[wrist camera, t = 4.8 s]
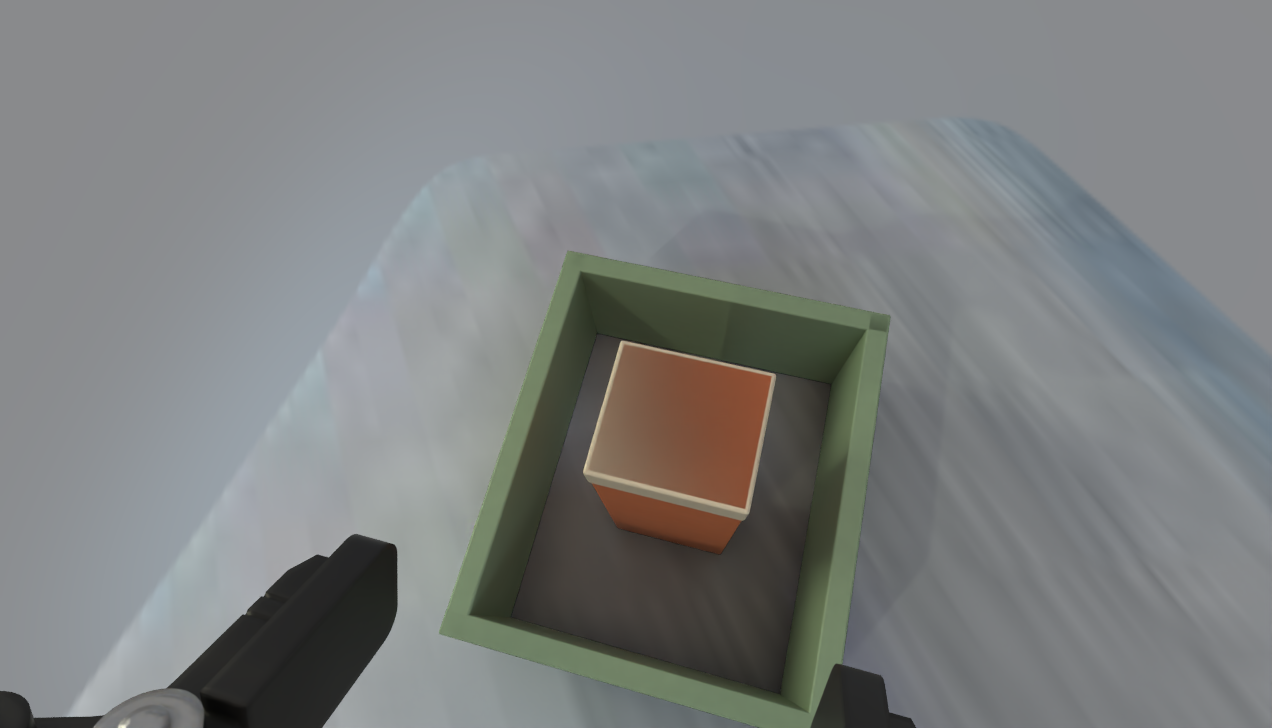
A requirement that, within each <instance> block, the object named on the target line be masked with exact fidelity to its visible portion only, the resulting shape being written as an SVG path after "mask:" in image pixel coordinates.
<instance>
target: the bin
mask: <svg viewBox="0 0 1272 728" xmlns="http://www.w3.org/2000/svg"><path fill="white" fill-rule="evenodd" d="M889 325H890V315H885V314H880V313H875V312H870V311H865V310H860V309H855V308H850V307H845V306H841V305H836V304H831V303H826V302H821V301H816V300H811V299H806V298H801V297H796V296H791V295H786V294H781V293H776V292H771V291H766V290H761V289H756V288H751V287H746V286H741V285H736V284H731V283H726V282H721V281H716V280H711V279H706V278H701V277H696V276H691V275H686V274H681V273H677V272H672V271H667V270H662V269H657V268H652V267H647V266H642V265H637V264H632V263H627V262H622V261H617V260H612V259H607V258H602V257H597V256H592V255H587V254H582V253H577V252H572V251H567V254H566V257H565V260H564V263H563V266H562V270H561V272H560V275H559V278H558V281H557V284H556V287H555V290H554V293H553V296H552V299H551V302H550V305H549V308H548V311H547V314H546V317H545V320H544V323H543V326H542V329H541V332H540V335H539V338H538V341H537V344H536V347H535V350H534V353H533V356H532V359H531V361H530V364H529V367H528V370H527V373H526V376H525V379H524V382H523V385H522V388H521V391H520V394H519V397H518V400H517V403H516V406H515V409H514V412H513V415H512V418H511V421H510V424H509V427H508V430H507V433H506V436H505V439H504V442H503V445H502V447H501V450H500V453H499V456H498V459H497V462H496V465H495V468H494V471H493V474H492V477H491V480H490V483H489V486H488V489H487V492H486V495H485V498H484V501H483V504H482V507H481V510H480V513H479V516H478V519H477V522H476V525H475V528H474V531H473V534H472V536H471V539H470V542H469V545H468V548H467V551H466V554H465V557H464V560H463V563H462V566H461V569H460V572H459V575H458V578H457V581H456V584H455V587H454V590H453V593H452V596H451V599H450V602H449V605H448V608H447V610H446V613H445V615H444V618H443V621H442V624H441V627H440V630H439V634H441V635H445V636H448V637H452V638H455V639H458V640H462V641H465V642H469V643H472V644H475V645H479V646H482V647H486V648H489V649H492V650H496V651H499V652H503V653H506V654H509V655H513V656H516V657H520V658H523V659H527V660H530V661H533V662H537V663H540V664H544V665H547V666H550V667H554V668H557V669H561V670H564V671H567V672H571V673H574V674H578V675H581V676H584V677H588V678H591V679H595V680H598V681H601V682H605V683H608V684H612V685H615V686H619V687H622V688H625V689H629V690H632V691H636V692H639V693H642V694H646V695H649V696H653V697H656V698H659V699H663V700H666V701H670V702H673V703H676V704H680V705H683V706H687V707H690V708H693V709H697V710H700V711H704V712H707V713H710V714H714V715H717V716H721V717H724V718H728V719H731V720H734V721H738V722H741V723H745V724H748V725H751V726H755V727H758V728H811V724H812V721H813V719H814V716H815V713H816V711H817V708H818V705H819V702H820V700H821V697H822V694H823V692H824V689H825V686H826V684H827V681H828V678H829V676H830V673H831V670H832V668H833V666H834V665H835V664H836V663H837V664H841V665H842V663H843V656H844V649H845V642H846V634H847V627H848V620H849V613H850V605H851V598H852V591H853V584H854V576H855V569H856V562H857V555H858V548H859V540H860V533H861V526H862V519H863V511H864V504H865V497H866V490H867V483H868V475H869V468H870V461H871V454H872V446H873V439H874V432H875V425H876V418H877V410H878V403H879V396H880V389H881V381H882V374H883V367H884V360H885V353H886V345H887V338H888V332H889ZM597 333H599V334H604V335H608V336H613V337H618V338H622V339H627V340H631V341H636V342H640V343H645V344H650V345H654V346H659V347H663V348H668V349H673V350H677V351H682V352H686V353H691V354H696V355H700V356H705V357H709V358H714V359H718V360H723V361H728V362H732V363H737V364H741V365H746V366H751V367H755V368H760V369H764V370H769V371H774V372H778V373H783V374H787V375H792V376H796V377H801V378H806V379H810V380H815V381H819V382H824V383H829V384H831V390H830V396H829V402H828V408H827V414H826V420H825V426H824V432H823V438H822V445H821V451H820V457H819V463H818V469H817V475H816V481H815V487H814V493H813V499H812V505H811V511H810V517H809V523H808V529H807V535H806V541H805V547H804V553H803V559H802V565H801V571H800V577H799V583H798V589H797V595H796V601H795V607H794V613H793V619H792V625H791V631H790V637H789V643H788V649H787V655H786V661H785V667H784V673H783V680H782V686H781V692H780V694H778V693H774V692H771V691H767V690H764V689H760V688H757V687H753V686H750V685H746V684H743V683H739V682H736V681H732V680H729V679H725V678H722V677H718V676H715V675H711V674H708V673H704V672H701V671H697V670H694V669H690V668H687V667H683V666H680V665H676V664H673V663H669V662H666V661H662V660H659V659H655V658H652V657H648V656H645V655H641V654H638V653H634V652H631V651H627V650H624V649H620V648H617V647H613V646H610V645H606V644H603V643H599V642H596V641H592V640H589V639H585V638H582V637H578V636H574V635H571V634H567V633H564V632H560V631H557V630H553V629H550V628H546V627H543V626H539V625H536V624H532V623H529V622H525V621H522V620H518V619H515V618H511V614H512V611H513V608H514V604H515V601H516V598H517V594H518V591H519V588H520V585H521V581H522V578H523V575H524V572H525V568H526V565H527V562H528V558H529V555H530V552H531V549H532V545H533V542H534V539H535V535H536V532H537V529H538V526H539V522H540V519H541V516H542V512H543V509H544V506H545V503H546V499H547V496H548V493H549V489H550V486H551V483H552V480H553V476H554V473H555V470H556V466H557V463H558V460H559V457H560V453H561V450H562V447H563V443H564V440H565V437H566V434H567V430H568V427H569V424H570V420H571V417H572V414H573V411H574V407H575V404H576V401H577V397H578V394H579V391H580V388H581V384H582V381H583V378H584V374H585V371H586V368H587V365H588V361H589V358H590V355H591V352H592V348H593V345H594V342H595V338H596V335H597Z"/></svg>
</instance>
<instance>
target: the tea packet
mask: <svg viewBox="0 0 1272 728" xmlns="http://www.w3.org/2000/svg"><path fill="white" fill-rule="evenodd" d="M775 381H776V374H774V373H769V372H765V371H760V370H756V369H751V368H746V367H742V366H737V365H733V364H728V363H724V362H719V361H714V360H710V359H705V358H701V357H696V356H691V355H687V354H682V353H678V352H673V351H669V350H664V349H659V348H655V347H650V346H646V345H641V344H636V343H632V342H627V341H621V343H620V345H619V349H618V352H617V356H616V359H615V363H614V366H613V370H612V373H611V376H610V380H609V383H608V387H607V390H606V394H605V397H604V401H603V404H602V408H601V411H600V414H599V418H598V421H597V425H596V428H595V432H594V435H593V439H592V442H591V446H590V449H589V452H588V456H587V459H586V463H585V466H584V470H583V474H584V476H585V477H586V479H587V481H588V482H590V483H592V485H593V486H594V488H595V490H596V491H597V493H598V495H599V497H600V498H601V500H602V502H603V504H604V505H605V507H606V509H607V511H608V512H609V514H610V516H611V518H612V519H613V521H614V523H615V525H616V526H617V528H619V529H623V530H627V531H630V532H634V533H638V534H642V535H646V536H650V537H654V538H657V539H661V540H665V541H669V542H673V543H677V544H681V545H684V546H688V547H692V548H696V549H700V550H704V551H708V552H711V553H715V554H721V553H722V551H723V550H724V548H725V547H726V545H727V543H728V542H729V540H730V539H731V537H732V535H733V534H734V532H735V531H736V529H737V527H738V526H739V524H740V523H741V521H744V520H745V519H746V517H747V516H748V514H749V513H750V508H751V503H752V498H753V493H754V488H755V483H756V478H757V473H758V468H759V463H760V458H761V452H762V447H763V442H764V437H765V432H766V427H767V422H768V417H769V412H770V407H771V402H772V397H773V392H774V387H775Z"/></svg>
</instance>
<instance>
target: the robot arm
mask: <svg viewBox="0 0 1272 728" xmlns="http://www.w3.org/2000/svg"><path fill="white" fill-rule="evenodd" d="M396 612H397V549H396V546H395V545H394V544H391V543H387V542H384V541H380V540H376V539H373V538H369V537H365V536H362V535H358V534H354V535H352V536H350V537H349V538H348V539H346V540H345V541H344V543H343V544H342V545H341V546H340V547H339V548H338V549H337V550H336V551H335V552H334V553H333V554H332V555H331V556H330V557H329V558H328V557H324V556H321V555H315V556H314V557H312V558H310V559H308V560H306V561H304V562H302V563H301V564H299V565H297V566H295V567H293V568H291V569H289V570H288V571H287V572H286V573H285V574H284V575H283V576H282V577H281V578H280V579H279V580H277V581H276V582H275V583H274V584H273V585H272V586H271V587H270V588H269V589H268V590H267V591H266V594H265V596H264V597H262V596H261V597H260V598H259V599H258V600H257V601H256V602H255V603H254V604H253V605H252V606H251V607H250V608H249V609H248V610H247V613H246V614H245V615H242V616H241V617H240V618H239V619H238V620H237V621H236V622H235V623H233V624H232V625H231V626H230V627H229V628H228V629H227V630H226V631H225V632H224V633H223V634H222V635H221V636H220V637H219V638H218V639H217V640H216V641H215V642H214V643H213V644H212V645H211V646H210V647H209V648H208V649H207V650H206V651H205V652H204V653H203V654H202V655H201V656H200V657H199V658H198V659H197V660H196V661H195V662H194V663H193V664H192V665H191V666H189V667H188V668H187V669H186V670H185V671H184V672H183V673H182V674H181V675H180V676H179V677H178V678H177V679H176V680H175V681H174V682H173V683H172V684H171V685H170V686H168V687H167V688H166V689H158V690H153V691H149V692H146V693H142V694H140V695H137V696H135V697H132V698H130V699H128V700H126V701H124V702H122V703H121V704H119V705H118V706H116V707H115V708H113V709H112V710H111V711H109V712H108V713H107V714H105V715H103V716H93V717H56V718H55V717H53V718H33V715H32V712H31V709H30V706H29V703H28V702H27V701H26V699H25V698H23V697H22V696H21V695H18V694H16V693H13V692H6V691H0V728H322V727H323V726H324V724H325V723H326V721H327V720H328V719H329V717H330V716H331V715H332V713H333V712H334V710H335V709H336V708H337V706H338V705H339V703H340V702H341V701H342V699H343V698H344V697H345V695H346V694H347V692H348V691H349V690H350V688H351V687H352V686H353V684H354V683H355V681H356V680H357V679H358V677H359V676H360V674H361V673H362V672H363V670H364V669H365V668H366V666H367V665H368V663H369V662H370V661H371V659H372V658H373V656H374V655H375V654H376V652H377V651H378V650H379V648H380V647H381V645H382V644H383V643H384V641H385V640H386V638H387V636H388V634H389V632H390V630H391V628H392V626H393V623H394V620H395V617H396ZM811 728H916V727H915V725H914V723H913V721H912V720H911V718H907V717H903V716H900V715H896V714H893V713H889V709H888V703H887V696H886V690H885V684H884V680H883V678H882V676H881V675H877V674H874V673H870V672H866V671H863V670H859V669H855V668H852V667H848V666H844V665H841V664H837V663H836V664H835V665H834V666H833V668H832V670H831V673H830V676H829V678H828V681H827V684H826V686H825V689H824V692H823V694H822V697H821V700H820V702H819V705H818V708H817V711H816V713H815V716H814V719H813V721H812V724H811Z"/></svg>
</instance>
